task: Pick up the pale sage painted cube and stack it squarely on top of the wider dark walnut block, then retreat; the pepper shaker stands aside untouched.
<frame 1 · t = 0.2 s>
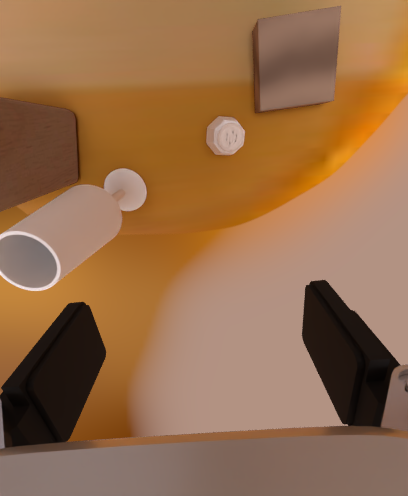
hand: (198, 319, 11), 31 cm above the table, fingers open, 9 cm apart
walnut block: (287, 70, 33), on the table
block: (45, 143, 37), on the table
pepper shaker: (223, 136, 36), on the table
champagne flute: (125, 190, 39), on the table
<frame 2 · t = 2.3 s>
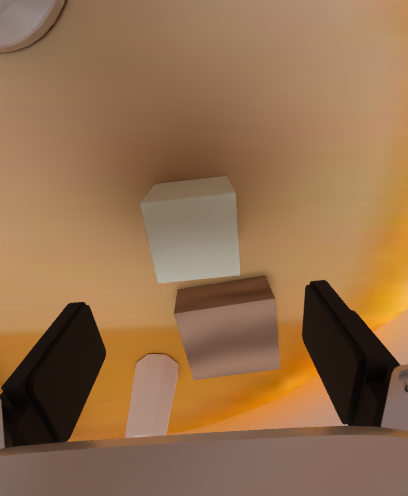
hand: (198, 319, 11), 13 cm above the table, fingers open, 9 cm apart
walnut block: (226, 314, 28), on the table
sage block: (195, 213, 22), on the table
pepper shaker: (158, 366, 31), on the table
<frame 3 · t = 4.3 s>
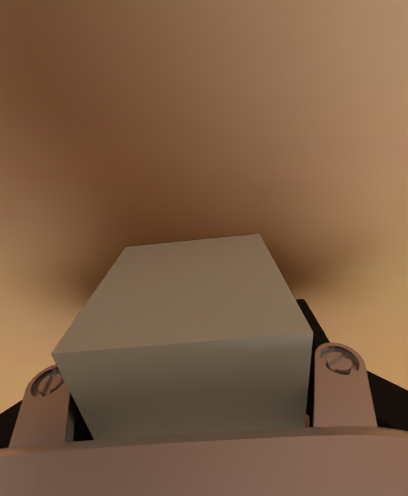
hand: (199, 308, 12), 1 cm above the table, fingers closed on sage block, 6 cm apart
sage block: (199, 295, 12), on the table, touching gripper
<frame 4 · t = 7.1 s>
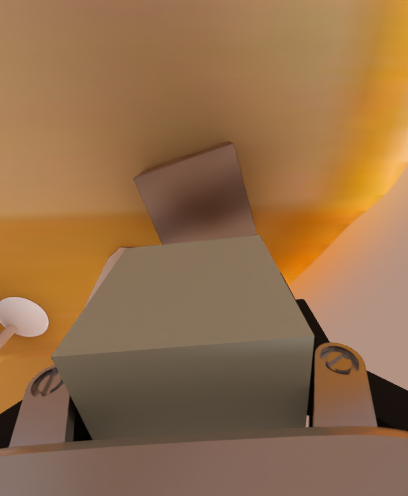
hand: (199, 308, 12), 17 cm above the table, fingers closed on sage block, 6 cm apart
walnut block: (199, 199, 27), on the table
sage block: (199, 297, 12), point 16 cm above the table, touching gripper
pepper shaker: (131, 265, 30), on the table
champagne flute: (23, 316, 33), on the table
when the fingers open (6 cm above the table, at t = 10.0 s): sage block drops 1 cm, resting on walnut block.
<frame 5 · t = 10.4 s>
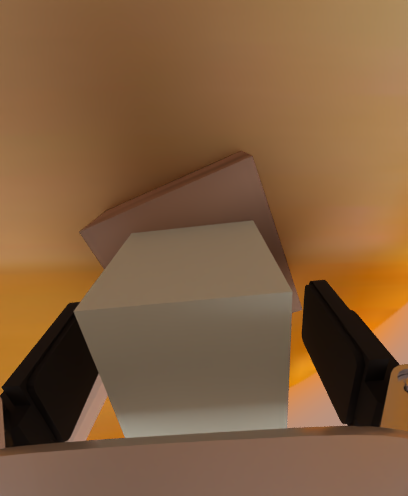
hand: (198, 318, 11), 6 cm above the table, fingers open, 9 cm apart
walnut block: (200, 243, 17), on the table, touching sage block
sage block: (199, 279, 13), point 4 cm above the table, touching walnut block
pepper shaker: (99, 335, 20), on the table
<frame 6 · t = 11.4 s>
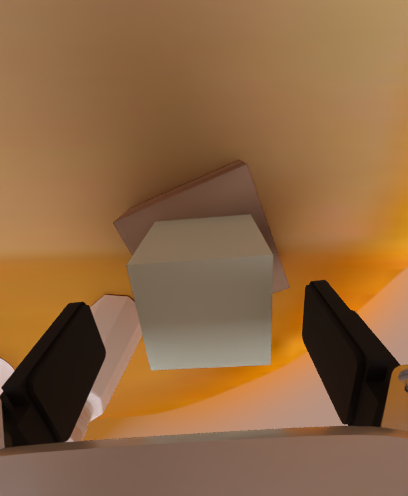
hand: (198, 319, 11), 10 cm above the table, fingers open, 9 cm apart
walnut block: (206, 235, 20), on the table
sage block: (206, 260, 17), point 4 cm above the table
pepper shaker: (119, 315, 24), on the table
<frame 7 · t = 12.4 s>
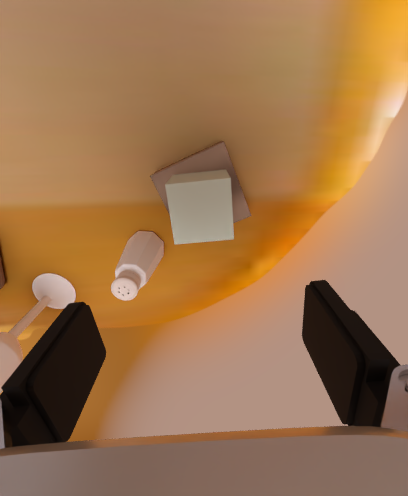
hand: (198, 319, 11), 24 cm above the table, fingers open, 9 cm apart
walnut block: (202, 189, 33), on the table, touching sage block
sage block: (201, 198, 29), point 4 cm above the table, touching walnut block
pepper shaker: (146, 246, 36), on the table
champagne flute: (54, 291, 39), on the table
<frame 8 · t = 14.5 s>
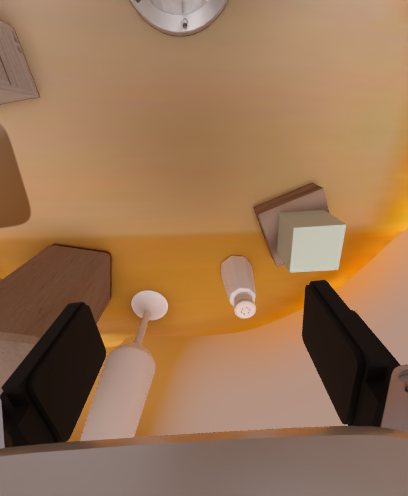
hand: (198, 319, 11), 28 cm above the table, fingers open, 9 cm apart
walnut block: (289, 221, 39), on the table, touching sage block
sage block: (299, 231, 36), point 4 cm above the table, touching walnut block
block: (83, 272, 43), on the table
supplement box: (2, 70, 31), on the table
pepper shaker: (235, 268, 42), on the table
champagne flute: (149, 305, 46), on the table
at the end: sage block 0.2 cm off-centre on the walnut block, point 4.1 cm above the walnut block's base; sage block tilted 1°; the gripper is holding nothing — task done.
